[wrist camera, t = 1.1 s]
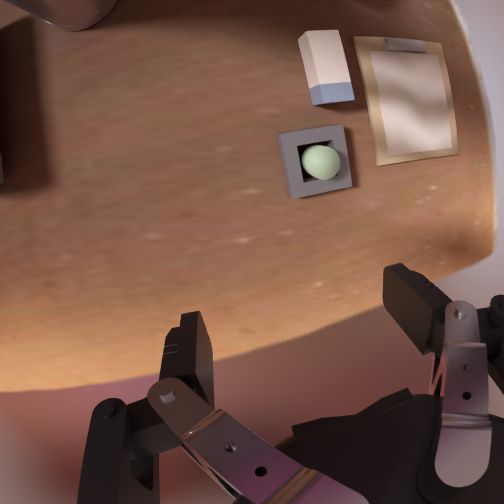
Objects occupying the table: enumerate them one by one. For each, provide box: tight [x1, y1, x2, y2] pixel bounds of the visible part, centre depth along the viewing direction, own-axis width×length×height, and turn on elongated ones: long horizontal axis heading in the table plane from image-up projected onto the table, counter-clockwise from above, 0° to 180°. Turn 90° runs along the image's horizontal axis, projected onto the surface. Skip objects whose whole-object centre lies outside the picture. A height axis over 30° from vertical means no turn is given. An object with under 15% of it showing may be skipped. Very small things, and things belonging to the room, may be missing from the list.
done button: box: [301, 145, 340, 180], centre depth 30 cm, size 3×3×3 cm
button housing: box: [276, 124, 352, 199], centre depth 31 cm, size 7×7×2 cm
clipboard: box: [352, 36, 459, 166], centre depth 29 cm, size 16×14×1 cm
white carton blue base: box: [298, 30, 355, 105], centre depth 27 cm, size 8×4×4 cm, turn 12°
